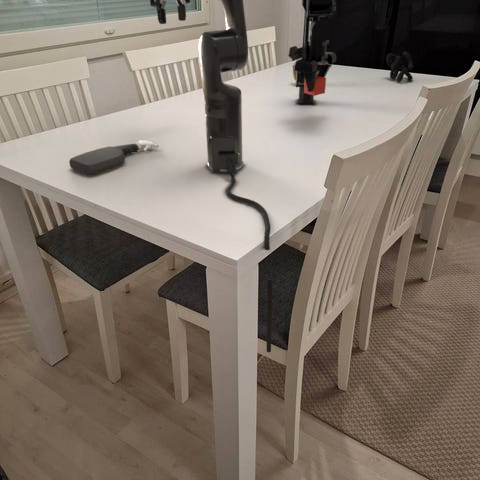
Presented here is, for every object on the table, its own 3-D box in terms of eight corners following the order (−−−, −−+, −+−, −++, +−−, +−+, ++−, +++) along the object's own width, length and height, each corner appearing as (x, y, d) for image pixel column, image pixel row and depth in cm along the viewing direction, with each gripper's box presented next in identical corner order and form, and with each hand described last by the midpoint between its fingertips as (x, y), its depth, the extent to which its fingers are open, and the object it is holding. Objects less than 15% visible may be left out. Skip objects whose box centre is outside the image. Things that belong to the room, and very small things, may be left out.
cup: (289, 85, 195) (289, 66, 191) (295, 82, 200) (296, 63, 196) (305, 87, 192) (306, 67, 188) (311, 83, 197) (312, 64, 193)
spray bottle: (67, 168, 120) (139, 144, 136) (91, 178, 114) (163, 151, 130) (65, 157, 118) (137, 134, 134) (89, 167, 112) (162, 142, 128)
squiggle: (400, 92, 202) (376, 71, 205) (417, 76, 202) (392, 56, 205) (405, 81, 191) (380, 59, 194) (423, 64, 191) (397, 42, 194)
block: (314, 90, 147) (315, 75, 145) (324, 93, 144) (326, 77, 141) (303, 92, 145) (304, 77, 142) (314, 95, 142) (315, 80, 139)
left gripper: (173, -45, 126) (178, 19, 135) (137, -45, 116) (145, 24, 125) (194, -45, 123) (198, 20, 132) (159, -45, 113) (166, 25, 122)
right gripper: (307, 31, 146) (304, 81, 154) (279, 39, 133) (277, 93, 141) (339, 33, 141) (334, 84, 149) (313, 42, 128) (309, 97, 136)
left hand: (172, 22), depth 128 cm, fingers open, 8 cm apart
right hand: (313, 89), depth 144 cm, fingers closed on block, 5 cm apart
